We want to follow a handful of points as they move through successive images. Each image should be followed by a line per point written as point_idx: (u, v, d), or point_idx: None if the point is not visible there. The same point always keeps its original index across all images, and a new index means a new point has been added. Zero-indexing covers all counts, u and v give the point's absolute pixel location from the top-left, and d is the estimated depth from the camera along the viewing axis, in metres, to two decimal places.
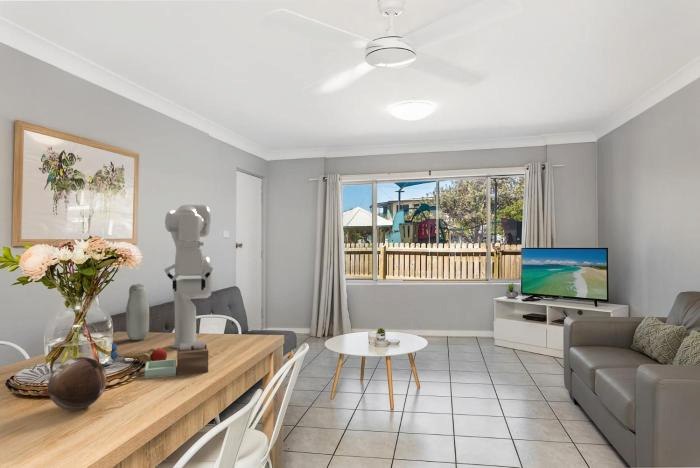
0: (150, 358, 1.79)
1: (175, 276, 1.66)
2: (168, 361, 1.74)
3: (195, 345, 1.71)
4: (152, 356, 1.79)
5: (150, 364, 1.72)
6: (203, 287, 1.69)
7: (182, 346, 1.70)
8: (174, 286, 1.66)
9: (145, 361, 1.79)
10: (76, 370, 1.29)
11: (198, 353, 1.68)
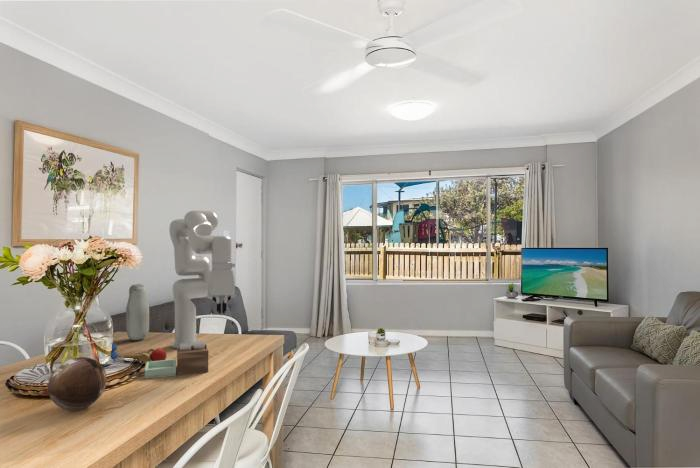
0: (150, 358, 1.79)
1: (217, 299, 1.75)
2: (168, 361, 1.74)
3: (195, 345, 1.71)
4: (152, 356, 1.79)
5: (150, 364, 1.72)
6: (224, 310, 1.76)
7: (182, 346, 1.70)
8: (218, 309, 1.76)
9: (144, 361, 1.79)
10: (76, 370, 1.29)
11: (198, 353, 1.68)
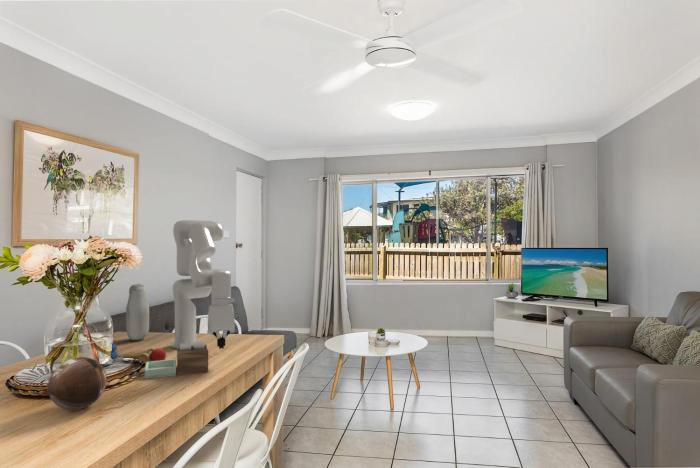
0: (149, 358, 1.79)
1: (217, 334, 1.75)
2: (168, 361, 1.74)
3: (195, 345, 1.71)
4: (151, 356, 1.79)
5: (150, 364, 1.72)
6: (223, 346, 1.76)
7: (182, 346, 1.70)
8: (219, 344, 1.76)
9: (144, 361, 1.79)
10: (76, 369, 1.29)
11: (198, 353, 1.68)
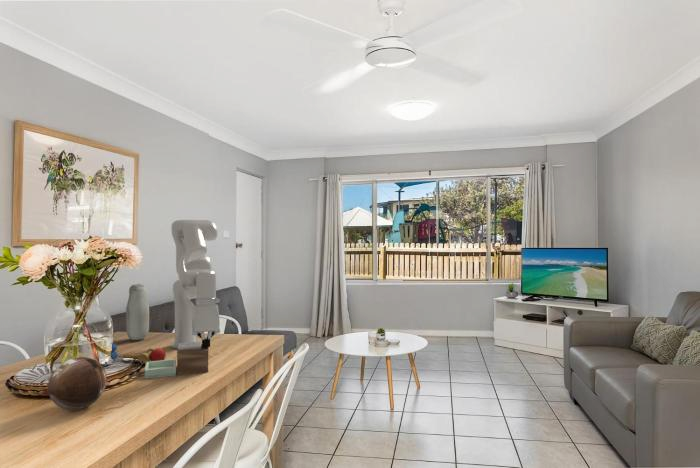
0: (149, 358, 1.79)
1: (202, 335, 1.73)
2: (168, 361, 1.74)
3: (191, 345, 1.70)
4: (151, 356, 1.79)
5: (150, 364, 1.72)
6: None
7: (181, 346, 1.69)
8: (204, 345, 1.73)
9: (144, 361, 1.80)
10: (76, 369, 1.29)
11: (198, 353, 1.68)
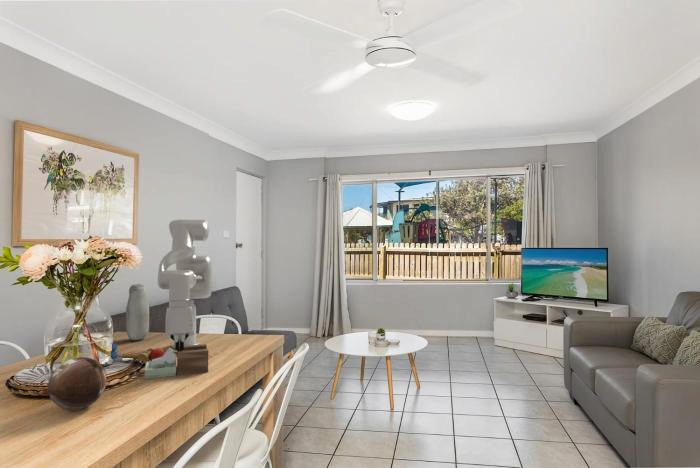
0: (148, 358, 1.79)
1: (175, 337, 1.69)
2: None
3: (164, 358, 1.66)
4: (150, 356, 1.79)
5: (150, 364, 1.72)
6: (181, 349, 1.70)
7: None
8: None
9: (143, 361, 1.80)
10: (76, 370, 1.29)
11: (198, 353, 1.68)
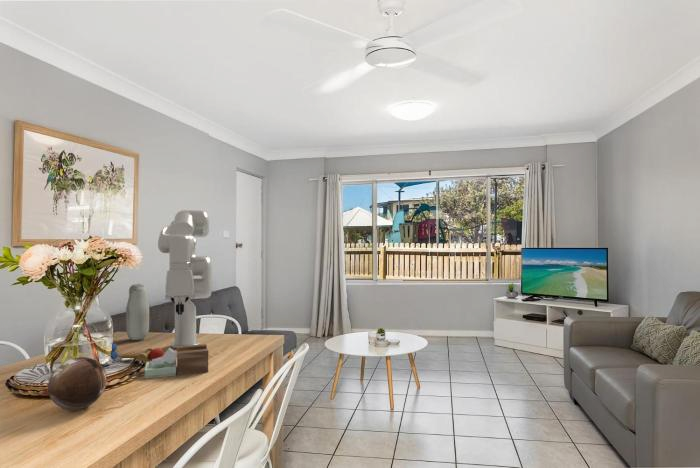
0: (147, 358, 1.79)
1: (175, 300, 1.70)
2: None
3: (164, 358, 1.66)
4: (149, 356, 1.79)
5: (150, 364, 1.72)
6: (181, 312, 1.71)
7: None
8: (177, 310, 1.71)
9: None
10: (76, 369, 1.29)
11: (198, 353, 1.68)
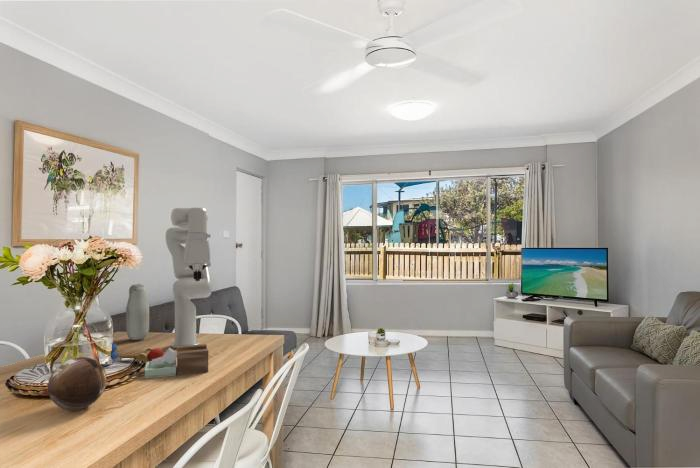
0: (147, 358, 1.79)
1: (193, 267, 1.84)
2: None
3: (164, 358, 1.66)
4: (149, 356, 1.79)
5: (150, 364, 1.72)
6: (199, 278, 1.85)
7: None
8: (195, 276, 1.85)
9: None
10: (76, 370, 1.29)
11: (198, 353, 1.68)
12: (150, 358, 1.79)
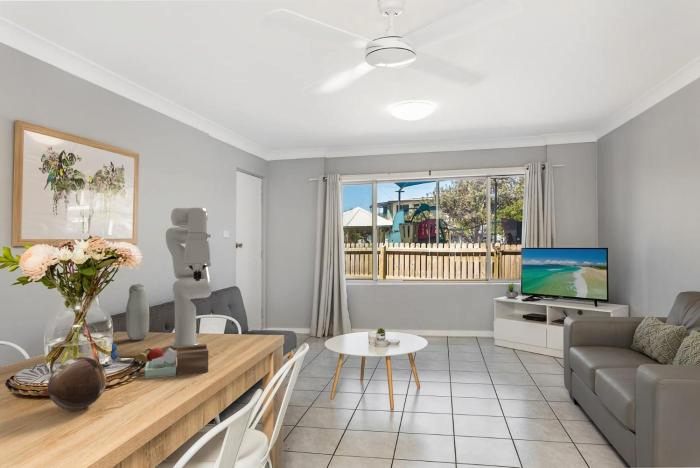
0: (147, 358, 1.79)
1: (193, 267, 1.84)
2: None
3: (164, 358, 1.66)
4: (149, 356, 1.79)
5: (150, 364, 1.72)
6: (199, 278, 1.85)
7: None
8: (195, 276, 1.85)
9: None
10: (76, 370, 1.29)
11: (198, 353, 1.68)
12: (150, 358, 1.79)
